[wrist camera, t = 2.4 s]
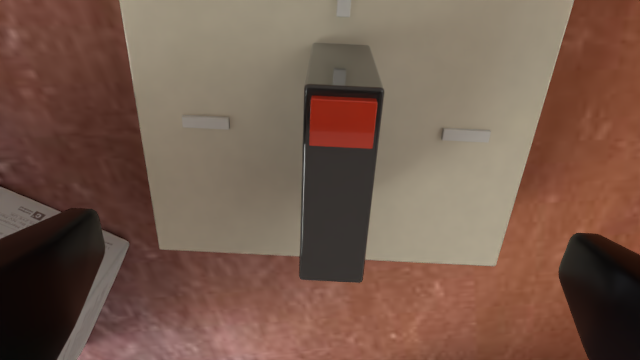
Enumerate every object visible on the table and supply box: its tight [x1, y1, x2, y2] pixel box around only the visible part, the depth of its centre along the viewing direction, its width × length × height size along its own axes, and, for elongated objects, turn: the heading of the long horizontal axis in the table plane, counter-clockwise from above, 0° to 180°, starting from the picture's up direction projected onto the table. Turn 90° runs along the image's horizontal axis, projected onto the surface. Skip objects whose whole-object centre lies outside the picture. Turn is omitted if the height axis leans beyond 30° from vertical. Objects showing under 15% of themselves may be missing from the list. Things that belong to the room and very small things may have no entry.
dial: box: [299, 43, 385, 283], centre depth 12 cm, size 5×2×4 cm, turn 178°
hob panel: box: [119, 0, 574, 266], centre depth 15 cm, size 10×12×3 cm
